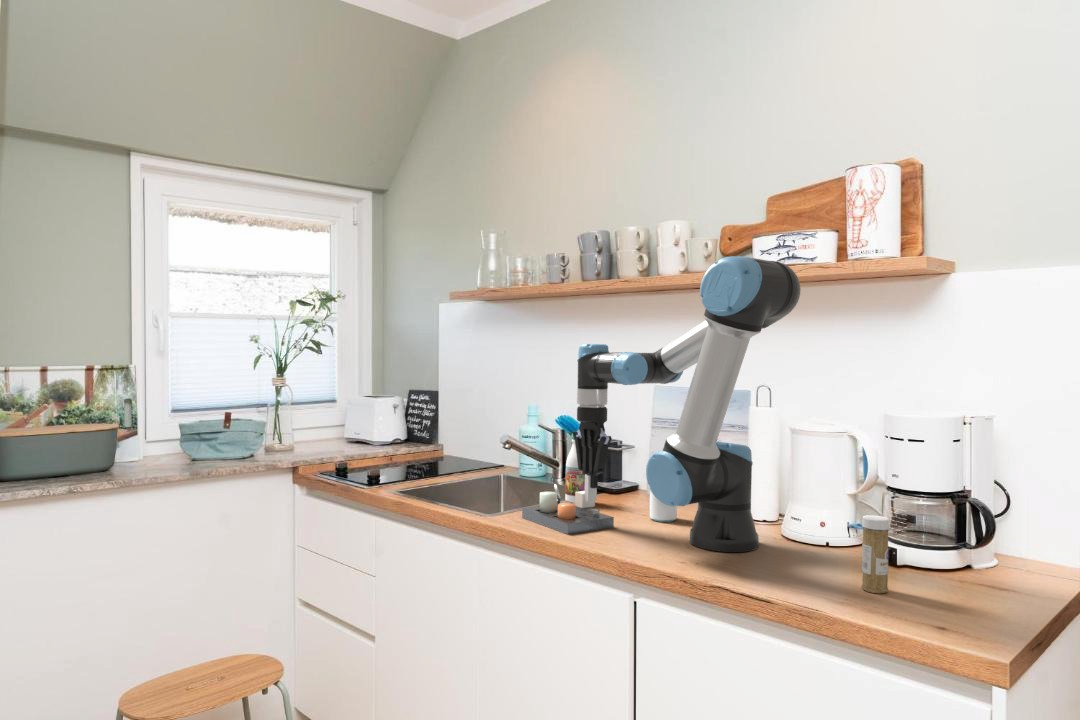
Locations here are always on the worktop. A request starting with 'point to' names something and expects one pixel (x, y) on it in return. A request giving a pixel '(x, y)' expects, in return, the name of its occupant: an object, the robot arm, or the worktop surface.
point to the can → (661, 510)
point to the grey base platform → (584, 519)
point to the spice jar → (875, 553)
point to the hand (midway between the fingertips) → (590, 500)
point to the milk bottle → (573, 475)
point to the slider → (582, 500)
